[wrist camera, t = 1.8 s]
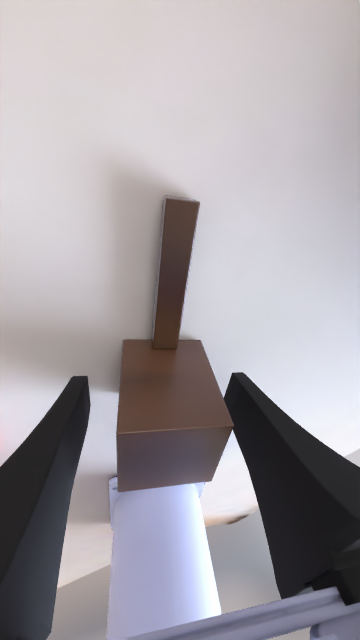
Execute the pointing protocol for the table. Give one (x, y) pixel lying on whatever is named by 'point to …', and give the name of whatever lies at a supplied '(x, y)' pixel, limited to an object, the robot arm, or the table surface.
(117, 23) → the table surface
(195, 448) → the wooden block stamp
